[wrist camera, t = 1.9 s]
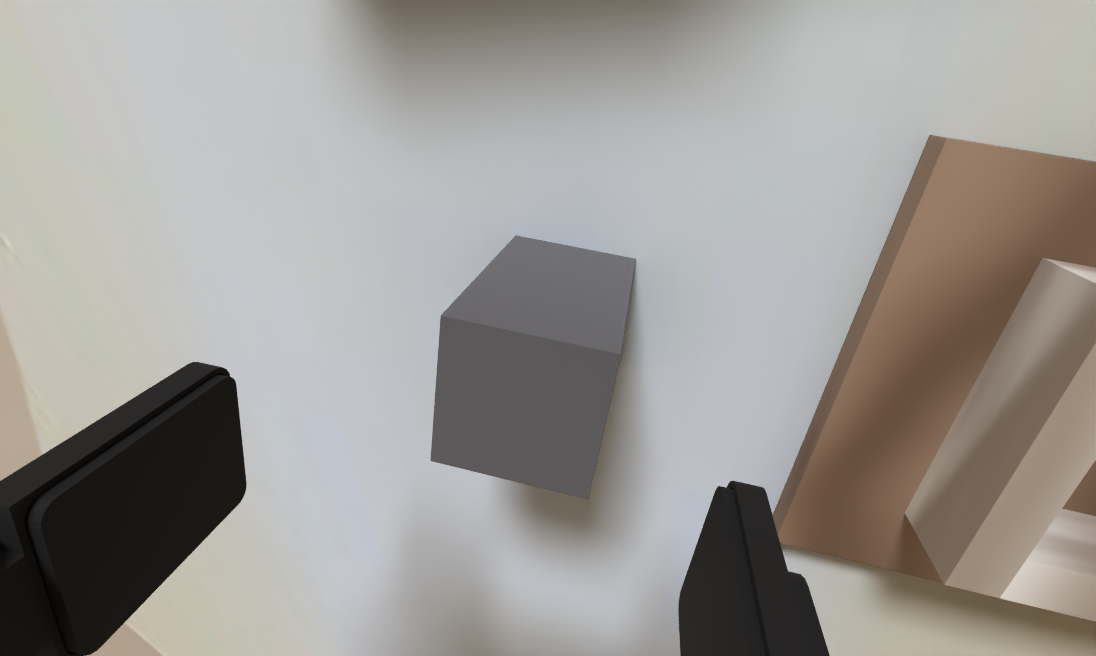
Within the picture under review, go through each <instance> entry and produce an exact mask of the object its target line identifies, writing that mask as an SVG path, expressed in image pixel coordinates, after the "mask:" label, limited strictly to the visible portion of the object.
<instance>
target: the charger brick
mask: <svg viewBox="0 0 1096 656" xmlns="http://www.w3.org/2000/svg"><path fill="white" fill-rule="evenodd" d="M635 261H636V259H633V258H628V257H623V256H618V255H613V254H608V253H603V252H598V251H592V250H587V249H582V248H577V247H572V246H567V245H562V244H557V243H551V242H546V241H541V240H536V239H531V238H526V237H521V236H515V237H514V238H513V239H512V240H511V241H510V242H509V243H508V244H507V245H506V247H505V248H504V249H503V250H502V251H501V252H500V253H499V254H498V255H497V256H496V257H495V258H494V259H493V260H492V261H491V263H490V264H489V265H488V266H487V267H486V268H485V269H484V270H483V271H482V272H481V273H480V274H479V275H478V276H477V278H476V279H475V280H474V281H473V282H472V283H471V284H470V285H469V286H468V287H467V288H466V289H465V290H464V291H463V292H462V294H461V295H460V296H459V297H458V298H457V299H456V300H455V301H454V302H453V303H452V304H451V305H450V306H449V307H448V308H447V310H446V311H445V312H444V313H443V314H442V315H441V320H440V334H439V349H438V363H437V377H436V392H435V406H434V420H433V435H432V449H431V461H433V462H437V463H442V464H446V465H450V466H454V467H458V468H462V469H466V470H470V471H474V472H478V473H483V474H487V475H491V476H495V477H499V478H503V479H507V480H511V481H515V482H519V483H523V484H528V485H532V486H536V487H540V488H544V489H548V490H552V491H556V492H560V493H564V494H569V495H573V496H577V497H581V498H585V499H588V498H589V493H590V489H591V485H592V480H593V476H594V471H595V467H596V462H597V458H598V454H599V449H600V445H601V440H602V436H603V431H604V427H605V423H606V418H607V414H608V409H609V405H610V400H611V396H612V392H613V387H614V383H615V378H616V374H617V369H618V365H619V361H620V356H621V351H622V344H623V338H624V331H625V325H626V319H627V312H628V306H629V300H630V293H631V287H632V281H633V274H634V268H635Z"/></svg>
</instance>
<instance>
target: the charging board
mask: <svg viewBox="0 0 1096 656" xmlns="http://www.w3.org/2000/svg"><path fill="white" fill-rule="evenodd" d="M773 519H774V523H775V526H776V530H777V534H778V537H779V541H780V543H782V544H786V545H790V546H794V547H798V548H803V549H807V550H811V551H815V552H819V553H823V554H827V555H831V556H835V557H840V558H844V559H848V560H852V561H856V562H860V563H864V564H868V565H873V566H877V567H881V568H885V569H889V570H893V571H897V572H901V573H905V574H910V575H914V576H918V577H922V578H926V579H930V580H934V581H938V582H943V583H944V585H947V586H951V587H955V588H959V589H964V590H968V591H972V592H976V593H980V594H984V595H988V596H992V597H996V598H1001V599H1005V600H1009V601H1013V602H1017V603H1021V604H1025V605H1029V606H1033V607H1038V608H1042V609H1046V610H1050V611H1054V612H1058V613H1062V614H1066V615H1070V616H1075V617H1079V618H1083V619H1087V620H1091V621H1095V622H1096V162H1093V161H1087V160H1080V159H1074V158H1068V157H1062V156H1056V155H1050V154H1044V153H1037V152H1031V151H1025V150H1019V149H1013V148H1007V147H1001V146H994V145H988V144H982V143H976V142H970V141H964V140H958V139H952V138H945V137H939V136H933V135H930V136H929V139H928V141H927V144H926V146H925V148H924V151H923V153H922V156H921V158H920V161H919V163H918V165H917V168H916V170H915V173H914V175H913V178H912V180H911V182H910V185H909V187H908V190H907V192H906V195H905V197H904V199H903V202H902V204H901V207H900V209H899V211H898V214H897V216H896V219H895V221H894V224H893V226H892V228H891V231H890V233H889V236H888V238H887V241H886V243H885V245H884V248H883V250H882V253H881V255H880V258H879V260H878V262H877V265H876V267H875V270H874V272H873V274H872V277H871V279H870V282H869V284H868V287H867V289H866V291H865V294H864V296H863V299H862V301H861V304H860V306H859V308H858V311H857V313H856V316H855V318H854V321H853V323H852V325H851V328H850V330H849V333H848V335H847V337H846V340H845V342H844V345H843V347H842V350H841V352H840V354H839V357H838V359H837V362H836V364H835V367H834V369H833V371H832V374H831V376H830V379H829V381H828V384H827V386H826V388H825V391H824V393H823V396H822V398H821V401H820V403H819V405H818V408H817V410H816V413H815V415H814V417H813V420H812V422H811V425H810V427H809V430H808V432H807V434H806V437H805V439H804V442H803V444H802V447H801V449H800V451H799V454H798V456H797V459H796V461H795V464H794V466H793V468H792V471H791V473H790V476H789V478H788V480H787V483H786V485H785V488H784V490H783V493H782V495H781V497H780V500H779V502H778V505H777V507H776V510H775V512H774V514H773Z"/></svg>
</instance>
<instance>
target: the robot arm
mask: <svg viewBox="0 0 1096 656" xmlns="http://www.w3.org/2000/svg"><path fill="white" fill-rule="evenodd" d="M245 491H246V475H245V466H244V456H243V446H242V436H241V427H240V417H239V407H238V398H237V388H236V382H235V380H234V379H233V378H231V377H230V374H229V372H228V371H227V369H225V368H222V367H218V366H213V365H209V364H204V363H200V362H192V363H190V364H188V365H186V366H184V367H183V368H181V369H180V370H178V371H176V372H175V373H173V374H172V375H170V376H168V377H167V378H165V379H164V380H162V381H160V382H159V383H157V384H156V385H154V386H152V387H151V388H149V389H147V390H146V391H144V392H143V393H141V394H139V395H138V396H136V397H135V398H133V399H131V400H130V401H128V402H127V403H125V404H123V405H122V406H120V407H119V408H117V409H115V410H114V411H112V412H111V413H109V414H107V415H106V416H104V417H102V418H101V419H99V420H98V421H96V422H94V423H93V424H91V425H90V426H88V427H86V428H85V429H83V430H82V431H80V432H78V433H77V434H75V435H74V436H72V437H70V438H69V439H67V440H66V441H64V442H62V443H61V444H59V445H58V446H56V447H54V448H53V449H51V450H49V451H48V452H46V453H45V454H43V455H41V456H40V457H38V458H37V459H35V460H33V461H32V462H30V463H29V464H27V465H25V466H24V467H22V468H21V469H19V470H17V471H16V472H14V473H13V474H11V475H9V476H8V477H6V478H4V479H3V480H1V481H0V656H84V655H85V656H86V655H90V654H92V653H93V652H95V651H97V650H98V649H99V648H100V647H101V646H102V645H103V644H104V643H105V642H106V641H107V640H108V639H109V638H110V637H111V636H112V635H113V634H114V633H115V632H116V631H117V630H118V628H120V626H121V625H122V624H123V623H124V622H125V621H126V620H127V619H128V618H129V617H130V616H131V615H132V614H133V613H134V612H135V611H136V610H137V609H138V608H139V607H140V606H141V605H142V604H143V603H144V602H145V601H146V600H147V598H148V597H149V596H150V595H151V594H152V593H153V592H154V591H155V590H156V589H157V588H158V587H159V586H160V585H161V584H162V583H163V582H164V581H165V580H166V579H167V578H168V577H169V576H170V575H171V574H172V573H173V572H174V570H175V569H176V568H177V567H178V566H179V565H180V564H181V563H182V562H183V561H184V560H185V559H186V558H187V557H188V556H189V555H190V554H191V553H192V552H193V551H194V550H195V549H196V548H197V547H198V546H199V545H200V544H201V543H202V541H203V540H204V539H205V538H206V537H207V536H208V535H209V534H210V533H211V532H212V531H213V530H214V529H215V528H216V527H217V526H218V525H219V524H220V523H221V522H222V521H223V520H224V519H225V518H226V517H227V516H228V515H229V513H230V512H231V511H232V510H233V509H234V508H235V507H236V506H237V505H238V504H239V503H240V502H241V500H242V498H243V496H244V494H245ZM679 632H680V652H681V656H829V652H828V649H827V646H826V643H825V639H824V636H823V633H822V629H821V626H820V623H819V620H818V616H817V613H816V610H815V607H814V603H813V600H812V597H811V594H810V590H809V587H808V585H807V582H806V580H805V578H804V577H803V576H802V575H801V574H797V573H793V572H788V570H787V567H786V563H785V559H784V556H783V552H782V548H781V545H780V541H779V537H778V534H777V530H776V526H775V523H774V519H773V516H772V512H771V508H770V505H769V501H768V497H767V494H766V491H765V489H764V488H763V487H759V486H754V485H750V484H745V483H741V482H736V481H730V483H729V484H728V486H727V488H725V487H721V486H718V487H717V489H716V491H715V493H714V496H713V499H712V502H711V505H710V508H709V511H708V514H707V516H706V519H705V522H704V525H703V528H702V531H701V534H700V537H699V540H698V542H697V545H696V548H695V551H694V554H693V557H692V560H691V563H690V566H689V569H688V571H687V574H686V577H685V580H684V583H683V586H682V589H681V592H680V598H679Z"/></svg>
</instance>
